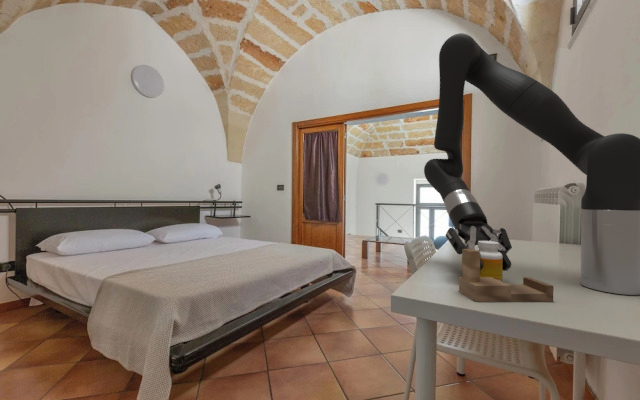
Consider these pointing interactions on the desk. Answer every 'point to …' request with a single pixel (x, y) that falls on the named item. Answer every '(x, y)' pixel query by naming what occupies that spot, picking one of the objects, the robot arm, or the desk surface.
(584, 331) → the desk surface
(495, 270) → the supplement bottle
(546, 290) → the wooden stand
